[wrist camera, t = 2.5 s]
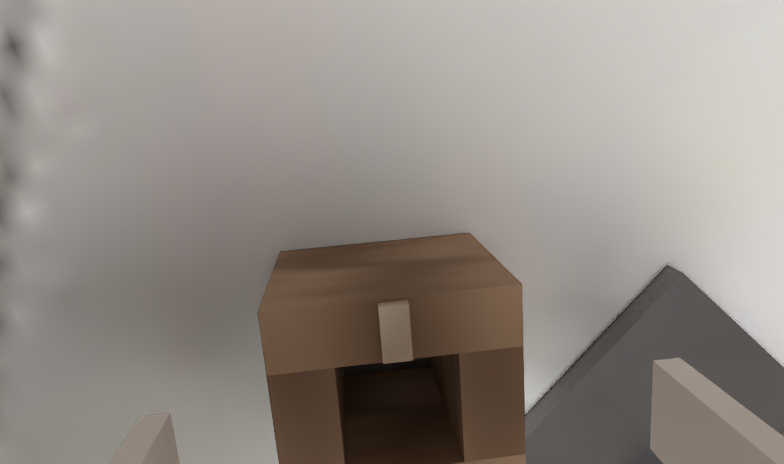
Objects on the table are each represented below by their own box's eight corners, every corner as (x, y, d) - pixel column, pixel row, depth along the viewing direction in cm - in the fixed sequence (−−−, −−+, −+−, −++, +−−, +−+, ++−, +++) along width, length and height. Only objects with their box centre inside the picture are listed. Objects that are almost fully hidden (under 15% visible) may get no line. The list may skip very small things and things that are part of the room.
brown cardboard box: (302, 422, 22) (289, 547, 16) (280, 251, 20) (255, 316, 14) (477, 401, 22) (529, 514, 16) (469, 233, 21) (525, 288, 15)
